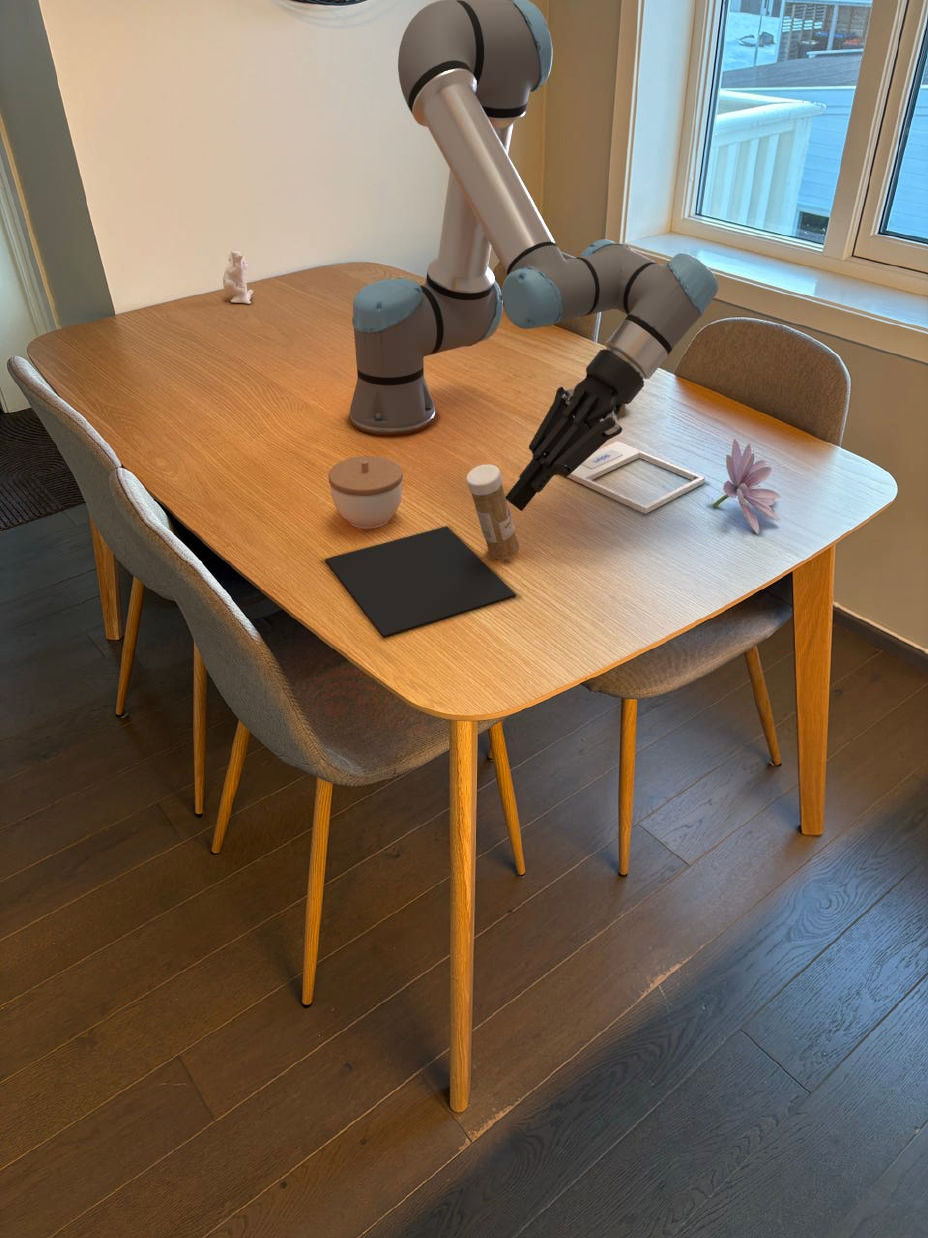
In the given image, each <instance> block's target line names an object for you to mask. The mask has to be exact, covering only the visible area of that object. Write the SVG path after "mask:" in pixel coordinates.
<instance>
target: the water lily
mask: <svg viewBox="0 0 928 1238" xmlns="http://www.w3.org/2000/svg"><path fill="white" fill-rule="evenodd" d="M725 456H726V457H725V465H726V470H727V475H728V477H729V480H726V481H725V482H724V484H723V486H722V490H723V492H724V494H725V495H723V496H721V497H720V498H719V499H717V500H716V501H715V502H714V503H712V507H713V508H714V509H715V508H717V507H718V506H719V505H720V504H722V503H723V502H724V501H726V500H727V499H728V498H732V499H736V498H737V500H738V503H739V508H740V510H741V512H742V515H743V516H744V518H745V520H746V522H747V523H748V525H749V526H750V527H751V529H752V530H753V531H754V532H755V534H757V535H758V534H759V533H760V525H759V521H758V518H757V515H756V514H755V511H754V510H752V507H753V508H754V509H755V510H757V511H758V512H760V513H761V514H762V515H764V516H766V517H768V518H770V519H772V520H774V521H777V522H780V518H779V516H778V515H777V513H776V512H775V511H773V510H772V508H771V506H773V505H774V504H775V503H776V499H780V498H781V497H782V495H780V493H778V492H776V491H774V490H772V489H769V488H761V487H762V485H760V484H761V483H764V482H765V481H766V480H767V479H768V478H769V476H770V475H771V474H772V468H771V467H770V466H767V463H766V460H764V459H760V460H758V461H756V462H755V452H752V447H751V444H750V443H748V444H747V445H746V447H745V449H744V450H743V452H742V450H741V446H740V444H739V442H738V440H737V439H736V438H733V441H732V447H731V455H730V454H726V455H725ZM755 487H756V488H755ZM751 506H752V507H751Z"/></svg>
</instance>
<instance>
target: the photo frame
mask: <svg viewBox="0 0 928 1238" xmlns="http://www.w3.org/2000/svg"><path fill="white" fill-rule="evenodd" d="M637 459H642V460H644V461H646V462H649V463H651V464H653V465H655V466H658V467H660V468H662V469H665V470H668V471H669V472H671V473H675V474H677V475H680V476H681V477H684V478H686V479H688V480H691V481H690V482H687V483H686V484H684V485H682V486H679V487H678V488H676V489H674V490H672V491H670V492H668V493H666V494H664V495H662V496H660V497H659V498H657V499H655V500H653V501H650V502H649V503H647V504H643V503H641V502H639V501H637V500H635V499H632V498H631V497H628V496H626V495H624V494H622V493H619V492H617V491H615V490H613V489H611V488H609V487H607V486H604V485H602V484H600V483H598V482H595V481H594V480H595V479H597V478H599V477H602V476H603V475H605V474H608V473H610V472H612V471H614V470H616V469H618V468H620V467H622V466H625V465H626V464H629V463H631V462H633V461H635V460H637ZM566 478H568V479H570V480H572V481H574V482H577V483H579V484H581V485H583V486H585V487H587V488H589V489H591V490H594V491H596V492H598V493H600V494H602V495H603V496H606V497H608V498H611V499H612V500H615V501H617V502H619V503H621V504H623V505H626V506H628V507H630V508H632V509H634V510H636V511H638V512H640V513H643V514H645V515H646V514H648V513H649V512H652V511H654V510H656V509H657V508H660V507H661V506H663V505H665V504H667V503H669V502H671V501H673V500H675V499H677V498H678V497H680V496H682V495H684V494H687V493H688V492H690V491H692V490H694V489H696V488H698V487H699V486H701V485H703V484H705V481H706V477H705V476H703V475H700V474H697V473H695V472H693V471H690V470H688V469H686V468H684V467H681V466H678V465H676V464H673V463H671V462H669V461H666V460H663V459H661V458H659V457H657V456H654V455H652V454H650V453H648V452H645V451H643V450H640V449H638V448H635V447H633V446H631V445H629V444H626V443H623V442H621V441H620V440H619V441H618V440H616V441H613V442H612V443H610V444H608V445H606V446H605V445H604V446H603V447H600V448H599V449H598V450H596V451H595V452H594V453H593V454H592V455H591V456H590V457H589V458H588V459H586V460H585V461H584V462H583V463H582V464H581V465H580V466H579V467H578V468H576V469H575V470H574V471H573V472H572V473H571V474H570V475H569V476H567V477H566Z"/></svg>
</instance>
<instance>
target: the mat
mask: <svg viewBox="0 0 928 1238" xmlns="http://www.w3.org/2000/svg"><path fill="white" fill-rule="evenodd" d="M324 561H325V563H326V564H327V565H328V566H329V568H330V569H331V571H332V572H333V573H334V575H335V576H336V577H337V578H338V580H339V581H340V582H341V584H342V585H343V587H344V588H345V589H346V591H347V592H348V593H349V594H350V596H351V597H352V598H353V600H354V601H355V602H356V603H357V605H358V606H359V608H360V609H361V610H362V611H363V613H364V614H365V615H366V617H367V618H368V619H369V621H370V622H371V623H372V624H373V626H374V627H375V629H376V630H377V631H378V632H379V634H380V635H381V636H382V638H384V639H385V638H388V637H392V636H395V635H398V634H402V633H404V632H407V631H411V630H414V629H417V628H420V627H423V626H427V625H430V624H433V623H437V622H440V621H443V620H447V619H449V618H453V617H456V616H459V615H463V614H465V613H468V612H472V611H475V610H478V609H482V608H485V607H488V606H492V605H494V604H497V603H500V602H503V601H507V600H510V599H514V598H516V597H517V594H516V593H515V592H514V591H513V590H512V589H511V588H510V587H509V586H508V585H507V584H506V583H505V582H504V581H503V580H502V579H501V578H500V577H499V576H498V575H497V574H496V573H495V572H494V571H493V570H492V569H491V568H490V567H489V566H488V565H487V564H486V563H485V562H484V561H483V560H482V559H481V558H479V556H478V555H477V554H476V553H475V552H474V551H473V550H472V549H471V548H470V547H469V546H467V544H466V543H465V542H464V541H463V540H462V539H460V538H459V537H458V536H457V535H456V533H454V531H452V530H451V529H450V527H448V525H445V526H443V527H439V528H434V529H432V530H428V531H424V532H420V533H416V534H413V535H409V536H405V537H402V538H397V539H395V540H391V541H387V542H383V543H380V544H376V545H372V546H368V547H364V548H361V549H358V550H353V551H350V552H346V553H343V554H339V555H334V556H331V557H328V558H327V557H326V558H325V560H324Z"/></svg>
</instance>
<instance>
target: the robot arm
mask: <svg viewBox="0 0 928 1238" xmlns="http://www.w3.org/2000/svg"><path fill="white" fill-rule="evenodd" d="M553 51H554V50H553V41H552V36H551V31H550V29H549V28H548V24H547V20H546V18H545V16H544V14H543V13H542V11H541V10H540V8H539V7H538V6H537V5H536V4H534V3H533V2H532V1H530V0H437V1H434V2H432V3H430V4H427V5H425V7H423V8H421V9H420V10H418V12H417V13H416V14H415V15H414V16H413V18H411V19H410V21H409V22H408V25H407V27H406V28H405V29H404V32H403V35H402V37H401V41H400V45H399V50H398V57H397V73H398V79H399V80H398V81H399V85H400V88H401V93H402V95H403V99H404V100H405V103H406V105H407V108H408V110H409V111H410V113H411V115H412V117H413V119H414V121H415V122H416V123H417V124H418V125H420V126H422V127H426V128H427V129H428V130H429V133H430V134H431V136H432V138H433V140H434V142H435V144H436V146H437V148H438V149H439V151H440V153H441V155H442V156H443V159H444V161H445V162H446V164H447V166H448V167H449V173H448V180H447V188H446V195H445V202H444V203H445V204H444V211H443V220H442V226H441V233H440V240H439V248H438V255H437V257H436V258H435V259H433V260H432V261H431V262H430V263H429V264H428V266H427V270H426V277H425V282H424V283H423V284H420V283H419V282H418V281H417V280H414V279H412V278H408V277H407V278H406V277H396V278H394V279H392V278H386V279H380V280H377V281H374V282H371V283H368V284H366V285H365V286H363V287H362V288H361V289H359V290H358V291H357V293H356V294H355V296H354V298H353V302H352V318H351V322H352V327H353V335H354V348H355V349H354V350H355V360H356V361H355V363H356V373H357V379H356V384H355V388H354V390H353V395H352V399H351V403H350V407H349V418H350V420H349V421H350V423H351V425H352V426H353V427H354V428H355V429H357V430H358V431H361V432H363V433H366V434H369V435H374V436H380V437H381V436H382V437H398V436H407V435H412V434H416V433H419V432H421V431H424V430H426V429H428V428H429V427H431V425H433V423H434V422H435V421H436V408H435V407H436V406H435V403H434V400H433V396H432V395H431V392H430V390H429V386H428V384H427V381H426V379H425V371H424V369H425V368H424V363H425V361H424V358H425V357H427V356H431V355H435V354H440V353H444V352H447V351H452V350H456V349H459V348H464V347H465V348H466V347H467V348H468V347H473V346H474V345H475V346H476V345H477V344H479V343H481V342H484V341H487V340H488V339H490V338H491V337H492V336H493V335H494V334H495V333H496V331H498V328H499V326H500V324H501V322H502V318H503V313H505V315H506V317H507V319H508V320H509V322H511V323H512V324H513V325H514V326H515V327H517V328H519V329H523V330H531V329H538V328H547V327H553V326H554V325H555V324H559V323H562V322H565V321H569V320H573V319H576V318H580V317H586V316H587V317H588V316H591V315H595V314H598V313H603V312H606V311H610V310H618V311H620V312H622V313H624V314H625V315H627V316H626V317H625V318H624V320H622V322H621V323H620V324H619V326H618V327H617V328H616V329H615V331H614V332H613V333H612V334H611V335H610V337H608V339H607V340H606V342H605V348H603V349H599V351H598V352H597V354H596V355H594V357H593V359H591V361H589V364H588V365H587V366H586V368H585V373H586V374H585V375H586V376H585V377H584V378H583V380H581V381H579V383H577V384H576V385H575V387H574V388H571V389H565V387H563V386H559V387H558V388H557V389H556V392H555V396H554V400H553V401H552V404H551V405H550V407H549V409H548V411H547V413H546V415H545V416H544V418H543V420H542V422H541V424H540V425H539V427H538V429H537V430H536V433H535V434H534V436H533V438H532V439H531V441H530V443H529V445H528V449H529V451H531V454H532V459H531V461H529V462H528V464H527V465H526V466H525V468H524V469H523V470H522V472H521V473H520V475H519V477H518V478H519V479H518V480H517V481H516V483H515V484H514V485H513V487H512V488H511V489H510V490H509V491H508V493H507V494H505V497H506V501H507V502H509V504H511V505H513V507H515V508H517V510H519V511H520V512H523V511H524V510H525V508H526V507H527V506H528V505H529V503H530V502H531V500H533V498H534V497H535V496H536V494H537V493H538V494H539V493H540V492H542V491H543V490H544V488H545V487H546V486H547V484H548V483H549V482H550V481H551V479H553V477H554V476H557V475H561V476H563V477H565V478H568V477H567V476H569V475H570V474H571V473H572V472H573V471H574V470H575V469H576V468H578V467H579V466H580V465H581V464H582V463H583V462H584V461H585V460H586V459H588V458H589V457H590V456H591V455H592V454H593V453H594V452H595V451H597V450H599V449H601V448H602V446H604V444H606V443H607V442H608V441H609V440H611V439H613V438H615V437H617V436H618V435H620V434H621V433H622V432H623V427H622V426H621V425H620V424H619V422H618V418H617V415H618V414H619V412H620V410H621V407H622V405H623V404H625V405H629V404H631V403H632V402H633V400H634V399H635V398H636V397H637V395H638V394H639V393H640V392H641V390H642V389H643V388H644V387H645V381H644V380H649V379H650V378H652V377H653V375H654V374H655V373H656V371H657V370H658V369H659V368H660V366H661V365H662V364H663V363H664V361H666V359H667V357H669V355H670V354H671V352H673V349H675V347H676V346H677V344H678V343H679V342H680V341H681V340H682V339H683V337H685V335H686V334H687V333H688V331H689V330H690V329H691V328H692V327H693V326H694V325H695V324H696V322H697V321H698V320H699V319H700V318H701V317H703V315H704V313H705V311H706V309H707V308H708V307H709V305H710V304H711V303H712V301H713V299H714V298H715V297H716V296H717V294H718V291H719V282H718V280H717V278H716V276H715V274H714V273H713V272H712V271H711V269H710V268H709V267H708V266H707V265H706V264H705V263H703V262H702V261H701V260H699V259H698V258H697V257H695V256H693V255H691V254H688V253H683V252H682V253H679V252H678V253H676V254H675V255H674V256H673V258H672V259H671V260H669V261H667V263H666V265H665V264H662V263H659V262H657V261H655V260H653V259H651V258H649V257H648V256H645V255H643V254H641V253H640V252H637V251H636V250H633V249H631V247H629V246H628V245H627V244H623V243H620V242H616V241H613V240H610V239H607V238H606V239H604V238H603V239H597V240H596V241H593V242H592V244H590V246H588V247H586V248H585V249H584V250H583V251H582V253H581V255H580V256H578V257H572V258H568V259H566V258H565V257H564V255H563V254H562V252H561V250H560V248H559V247H558V244H557V243H556V242H555V240H554V238H553V236H552V234H551V232H550V231H549V229H548V227H547V225H546V223H545V221H544V219H543V218H542V216H541V214H540V212H539V211H538V208H537V207H536V205H535V203H534V201H533V199H532V197H531V194H530V193H529V192H528V189H527V187H526V186H525V184H524V183H523V180H522V179H521V177H520V175H519V173H518V171H517V169H516V167H515V166H514V164H513V162H512V160H511V158H510V156H509V149H510V144H511V138H512V132H513V128H514V124H515V123H516V121H518V120H520V119H521V118H522V117H524V116H525V114H526V111H527V107H528V102H529V98H530V96H529V95H530V92H531V93H534V92H536V91H538V90H539V89H541V88H542V87H543V85H544V84H545V83H546V82H547V80H548V78H549V76H550V74H551V70H552V66H553V55H554V53H553ZM492 250H493V252H494V253H495V255H496V258H497V259H498V261H499V262H500V265H501V266H502V268H503V270H504V273H506V277H505V278H504V280H503V284H502V286H501V288H500V286H499V284H498V282H497V281H496V280H495V278H496V277H495V274H494V272H493V270H492V269H491V268H490V267H489V263H490V258H491V256H490V255H491V252H492ZM503 311H504V312H503Z"/></svg>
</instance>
